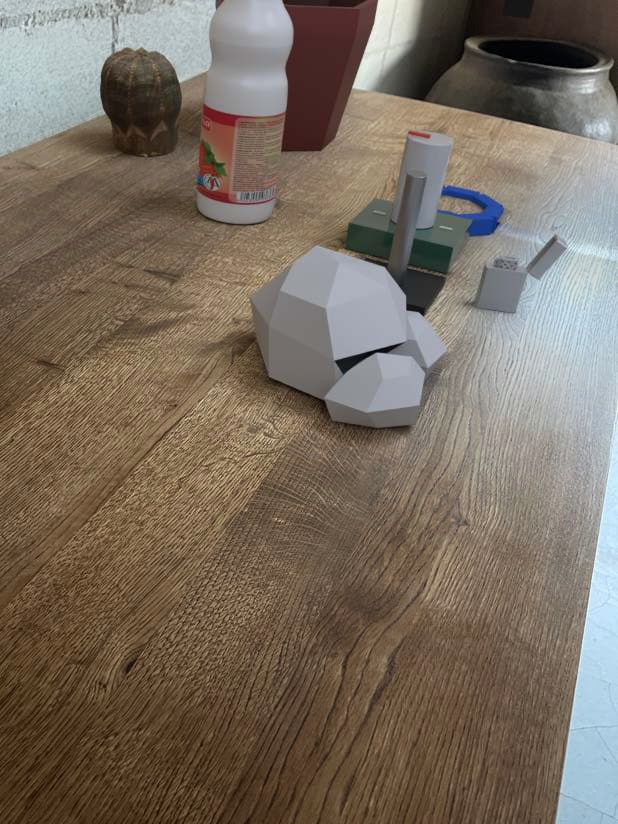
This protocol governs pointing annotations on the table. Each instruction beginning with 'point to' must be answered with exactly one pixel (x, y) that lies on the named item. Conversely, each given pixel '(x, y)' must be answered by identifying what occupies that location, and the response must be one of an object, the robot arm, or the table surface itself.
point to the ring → (481, 221)
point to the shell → (141, 101)
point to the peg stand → (412, 282)
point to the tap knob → (430, 158)
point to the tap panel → (429, 245)
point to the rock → (346, 338)
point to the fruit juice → (244, 110)
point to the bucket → (322, 67)
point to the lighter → (514, 277)
